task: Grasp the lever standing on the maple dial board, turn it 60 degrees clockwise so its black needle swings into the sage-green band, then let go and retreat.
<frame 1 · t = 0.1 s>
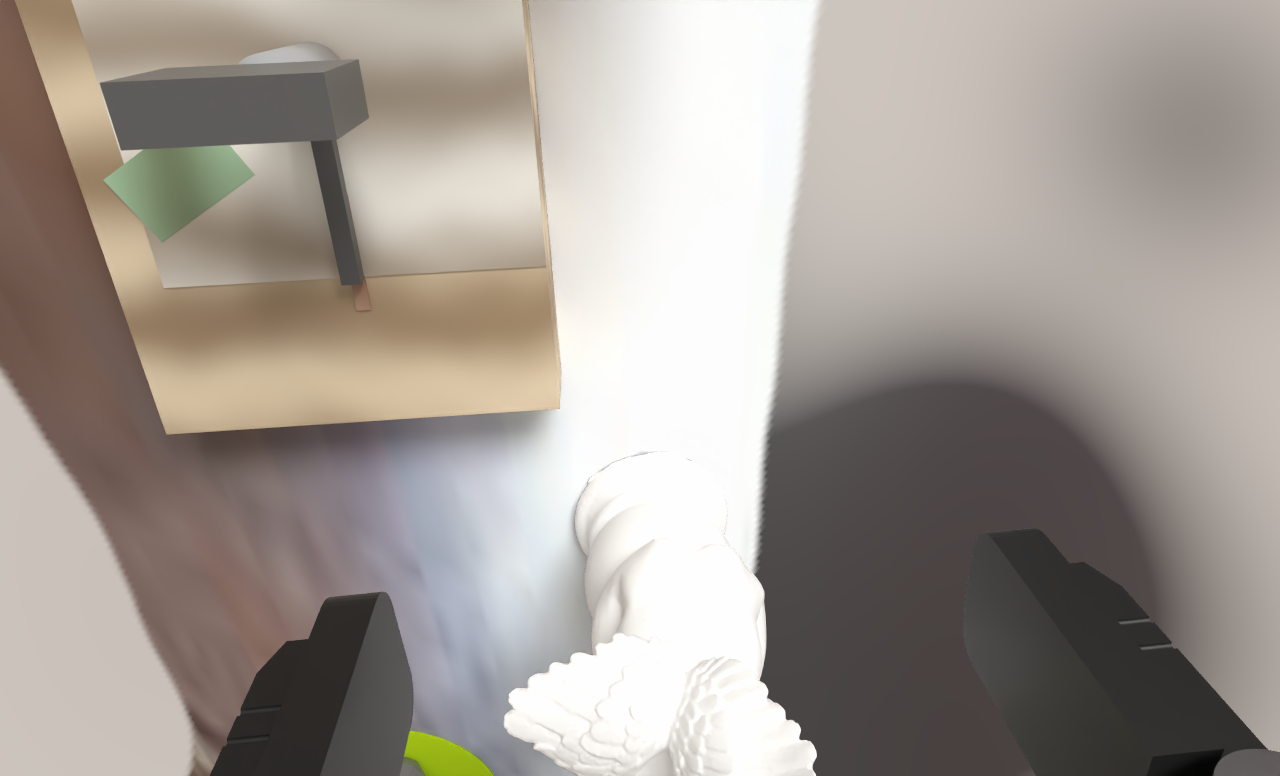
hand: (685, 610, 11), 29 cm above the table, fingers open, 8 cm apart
cherub figurine: (626, 494, 46), on the table
dial board: (334, 139, 36), on the table
lever: (298, 195, 28), point 9 cm above the table, hinge at 0.0°
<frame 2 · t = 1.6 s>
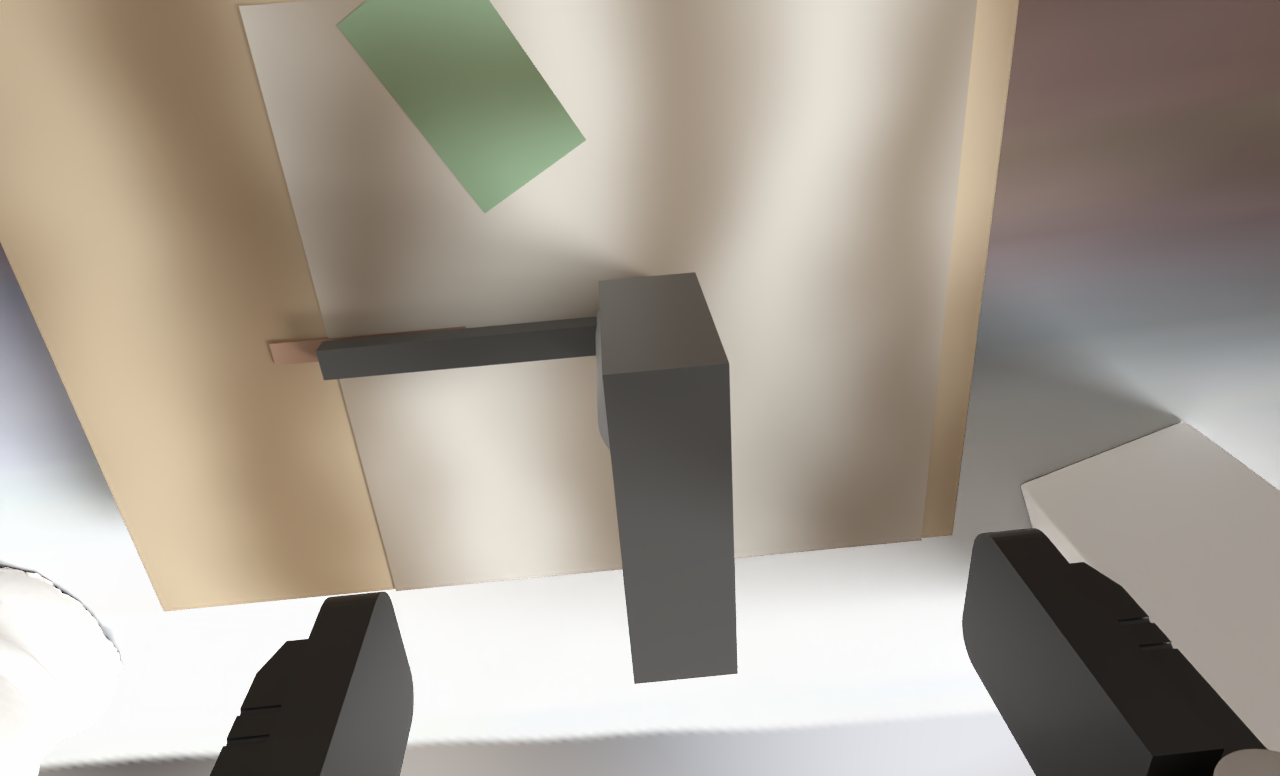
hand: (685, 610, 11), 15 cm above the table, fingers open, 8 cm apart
cherub figurine: (23, 614, 29), on the table
dial board: (530, 247, 24), on the table
lever: (491, 421, 17), point 9 cm above the table, hinge at 0.0°
milk: (1111, 510, 30), on the table
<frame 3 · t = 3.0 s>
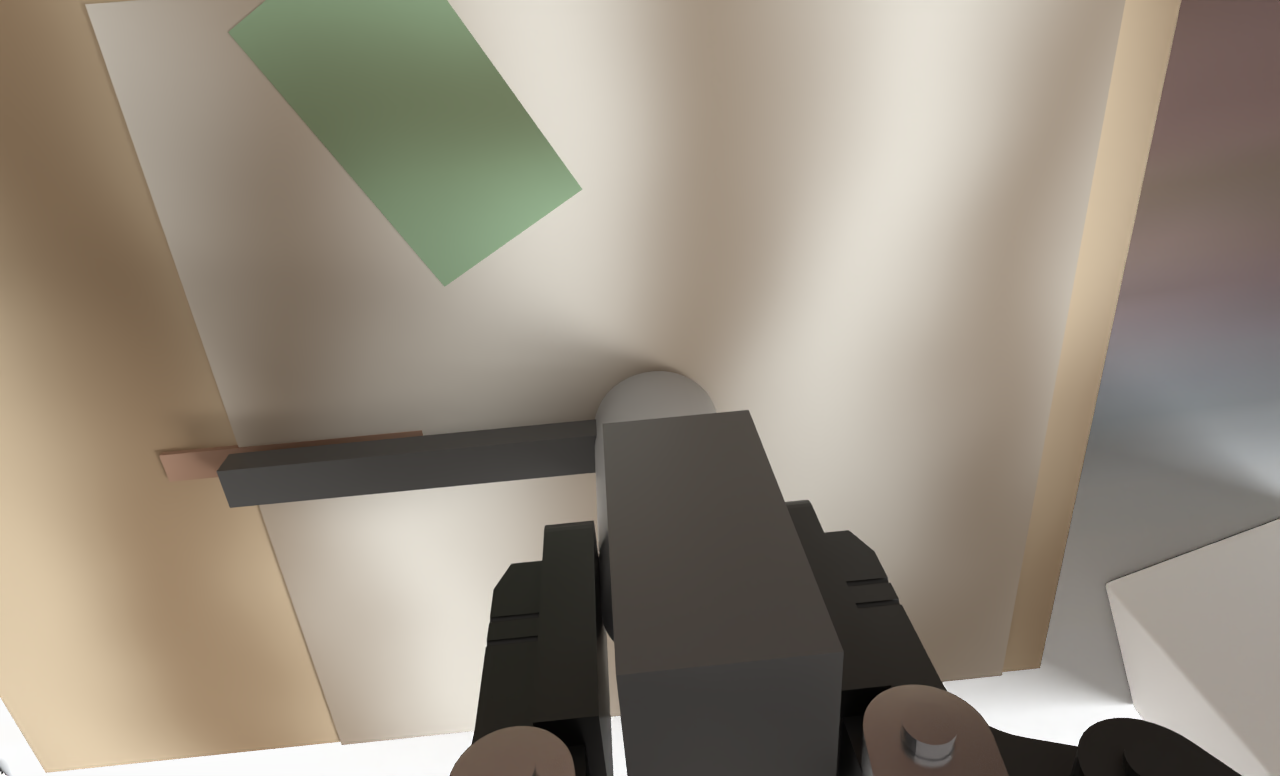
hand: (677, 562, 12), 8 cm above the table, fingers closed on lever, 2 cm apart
dial board: (510, 311, 19), on the table
lever: (446, 604, 12), point 9 cm above the table, hinge at 0.0°, touching gripper
milk: (1208, 608, 25), on the table
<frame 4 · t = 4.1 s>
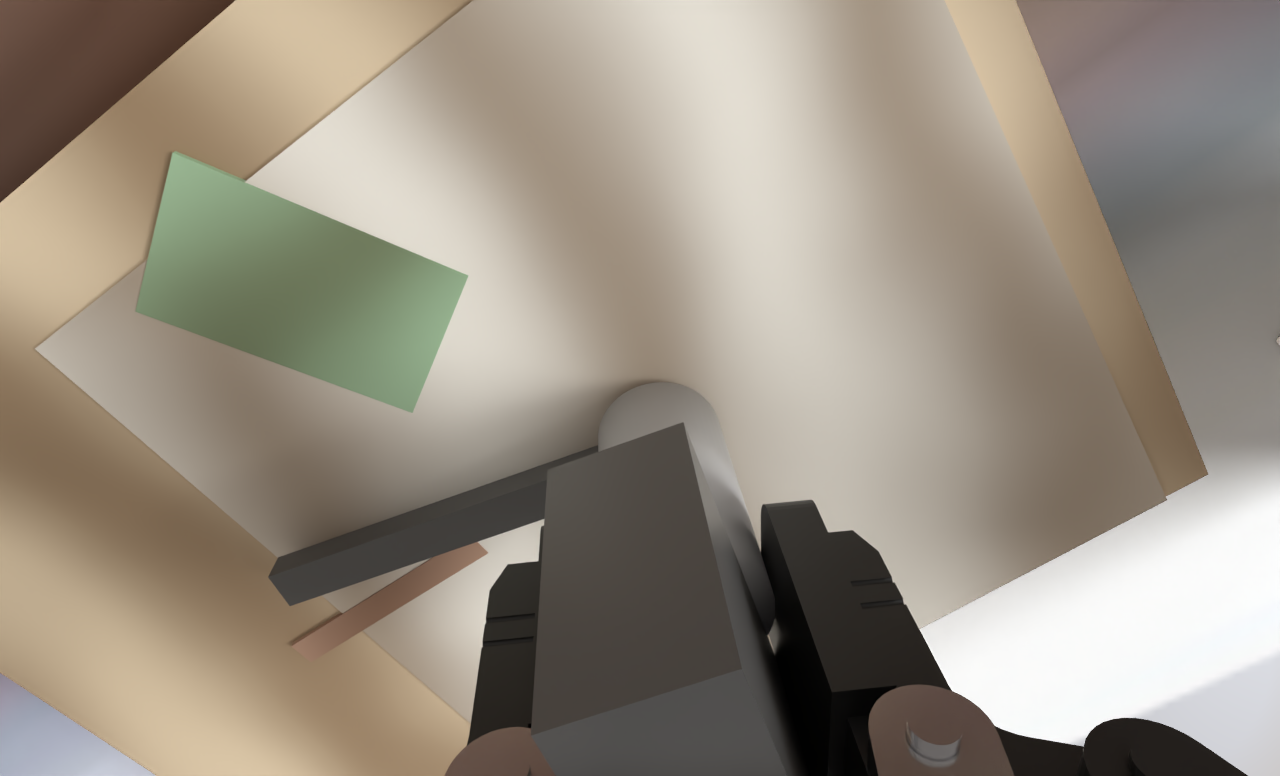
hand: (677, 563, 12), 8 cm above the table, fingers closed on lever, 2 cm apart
dial board: (519, 383, 20), on the table
lever: (472, 662, 12), point 9 cm above the table, hinge at -14.2°, touching gripper
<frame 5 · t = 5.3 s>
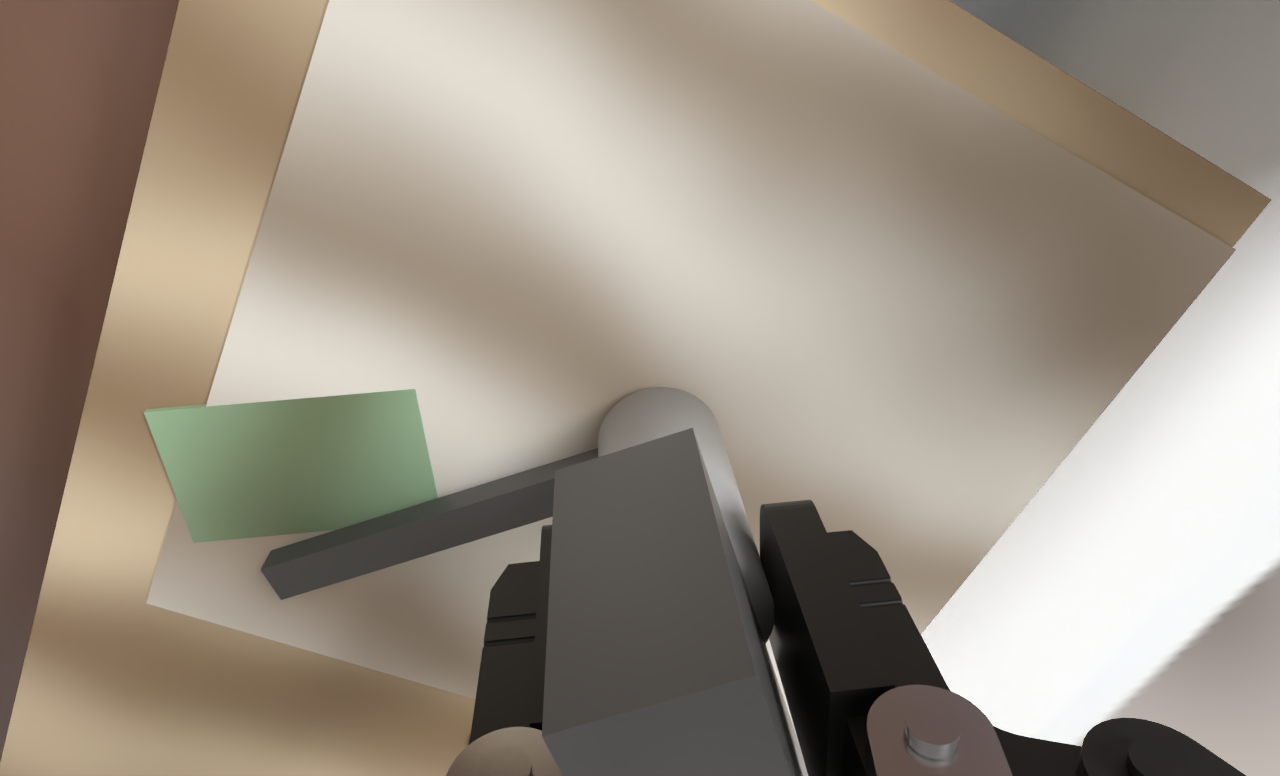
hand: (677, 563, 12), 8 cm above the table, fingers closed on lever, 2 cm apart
dial board: (555, 435, 21), on the table
lever: (468, 662, 12), point 9 cm above the table, hinge at -45.7°, touching gripper
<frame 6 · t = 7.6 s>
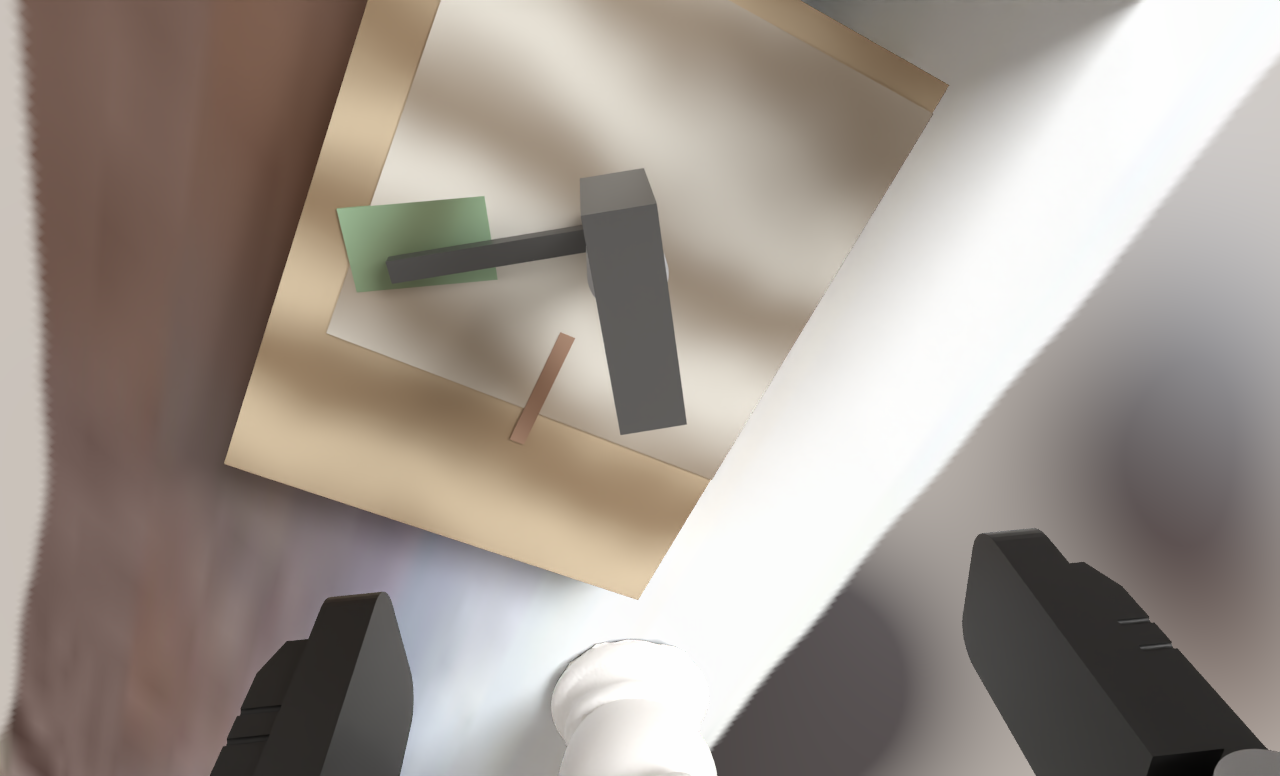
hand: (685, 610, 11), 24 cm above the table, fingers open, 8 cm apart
cherub figurine: (617, 669, 44), on the table
dial board: (560, 255, 33), on the table
lever: (515, 288, 24), point 9 cm above the table, hinge at -55.8°
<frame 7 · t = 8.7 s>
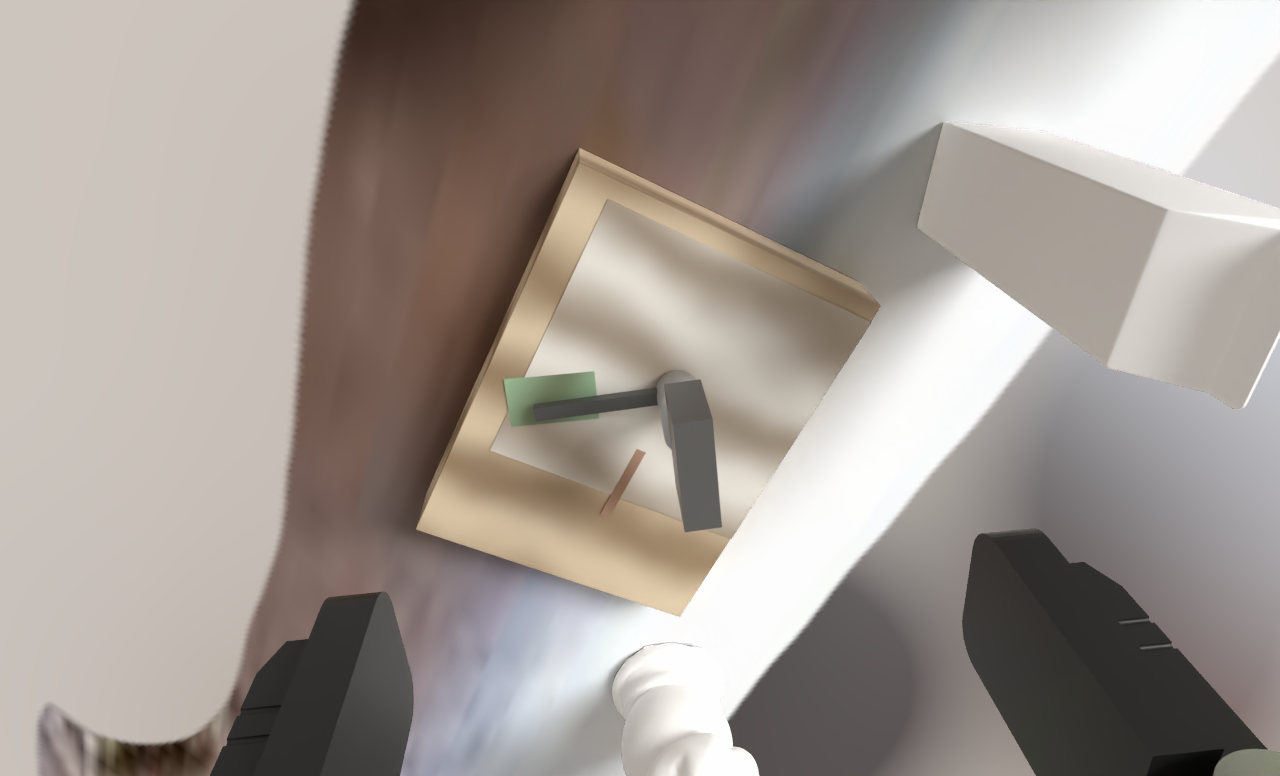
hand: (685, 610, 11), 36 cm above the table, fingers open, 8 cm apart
cherub figurine: (660, 664, 61), on the table
dial board: (632, 391, 50), on the table
lever: (620, 438, 41), point 9 cm above the table, hinge at -57.3°
milk: (977, 179, 46), on the table
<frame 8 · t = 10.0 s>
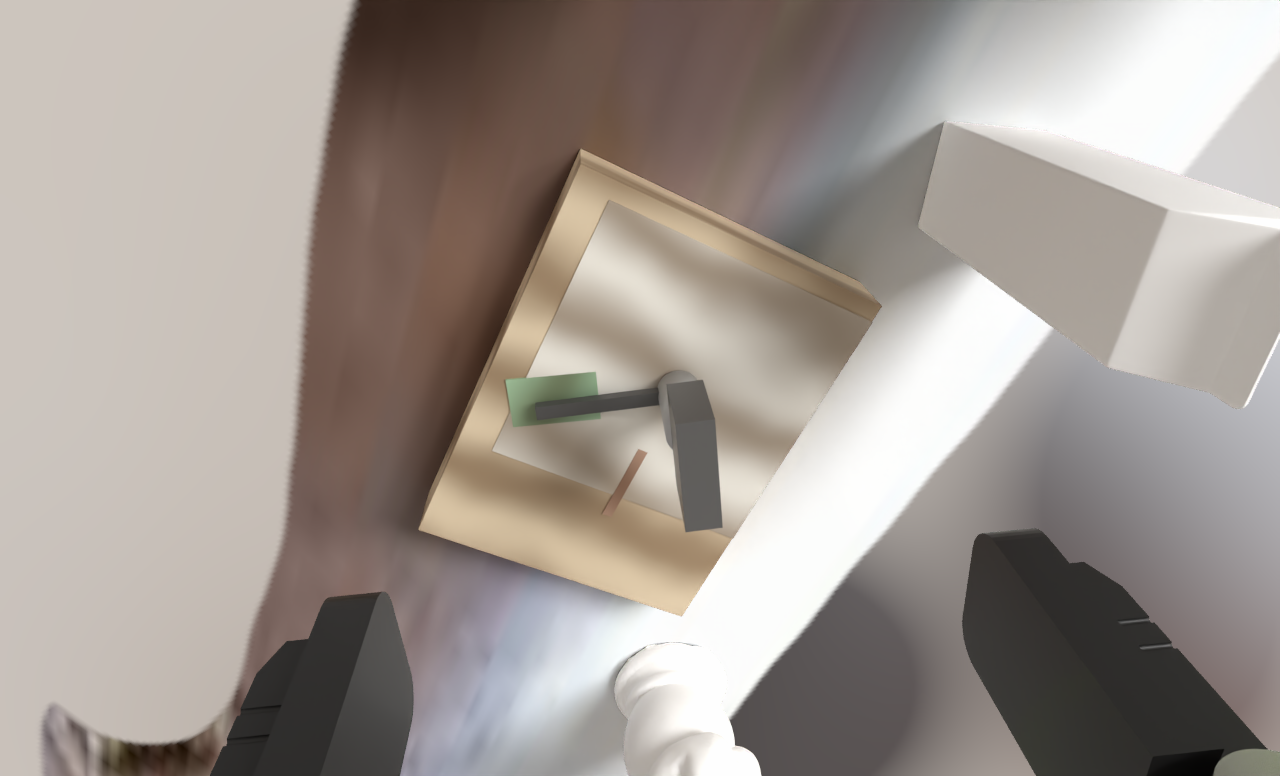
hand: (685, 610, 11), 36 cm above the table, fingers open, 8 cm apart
cherub figurine: (662, 663, 61), on the table
dial board: (634, 391, 50), on the table
lever: (622, 437, 42), point 9 cm above the table, hinge at -58.1°
milk: (978, 178, 46), on the table
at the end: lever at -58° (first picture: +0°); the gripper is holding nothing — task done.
